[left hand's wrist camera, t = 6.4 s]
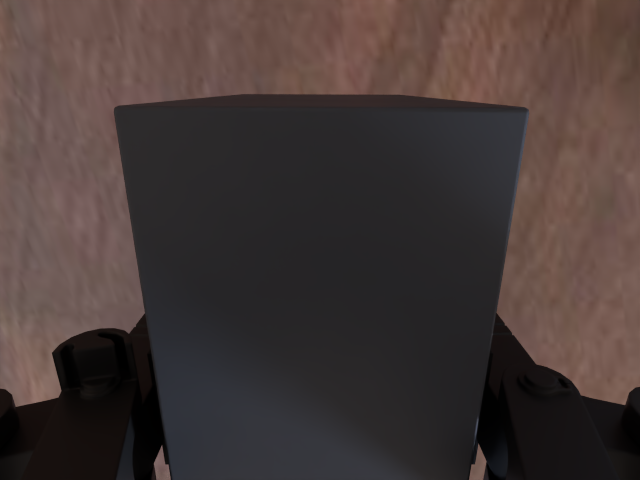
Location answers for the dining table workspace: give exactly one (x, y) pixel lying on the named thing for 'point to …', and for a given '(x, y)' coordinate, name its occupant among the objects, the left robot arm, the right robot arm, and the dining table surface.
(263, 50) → the dining table surface
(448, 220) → the bar
